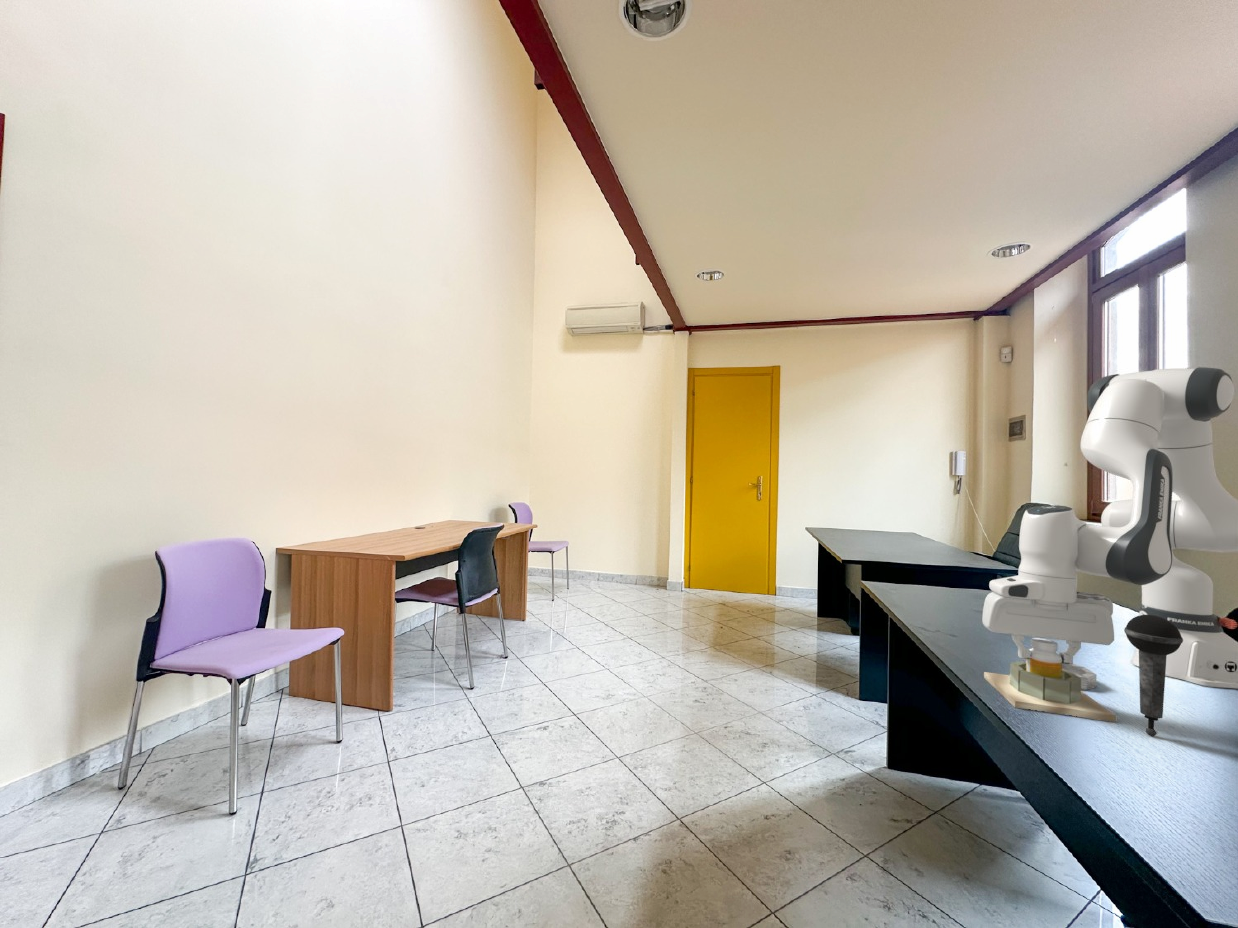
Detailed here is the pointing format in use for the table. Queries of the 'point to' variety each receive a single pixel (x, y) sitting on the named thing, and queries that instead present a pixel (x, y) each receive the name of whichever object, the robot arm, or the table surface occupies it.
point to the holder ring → (1082, 675)
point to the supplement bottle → (1044, 659)
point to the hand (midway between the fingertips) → (1044, 660)
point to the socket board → (1047, 693)
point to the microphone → (1152, 661)
